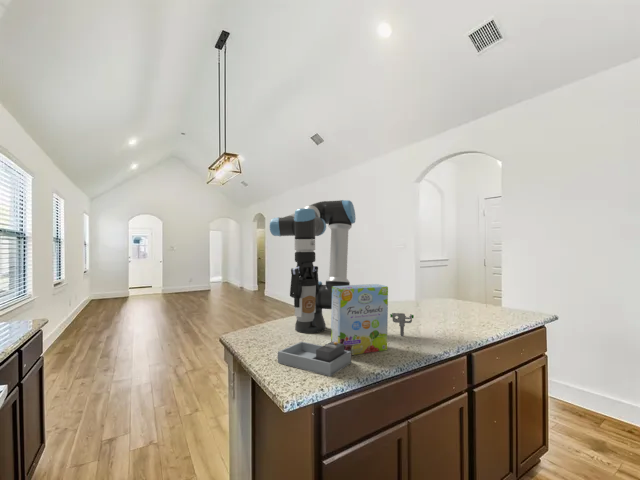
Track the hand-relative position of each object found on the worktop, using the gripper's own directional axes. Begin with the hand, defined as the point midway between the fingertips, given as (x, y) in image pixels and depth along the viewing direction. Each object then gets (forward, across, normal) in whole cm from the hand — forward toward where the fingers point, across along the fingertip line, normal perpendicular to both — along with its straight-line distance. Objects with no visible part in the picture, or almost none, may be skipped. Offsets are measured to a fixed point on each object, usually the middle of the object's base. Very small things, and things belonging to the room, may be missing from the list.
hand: (305, 314), depth 117 cm
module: (+17, 0, -11) cm, 20 cm away
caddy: (+17, 0, -4) cm, 17 cm away
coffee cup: (+2, 0, 0) cm, 2 cm away
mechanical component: (+17, +49, -19) cm, 55 cm away
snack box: (+17, +20, -12) cm, 29 cm away
